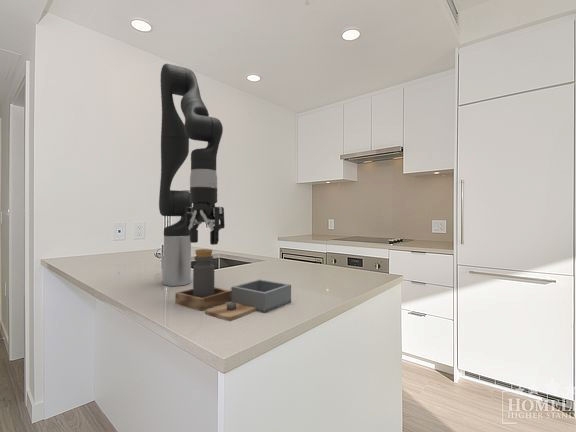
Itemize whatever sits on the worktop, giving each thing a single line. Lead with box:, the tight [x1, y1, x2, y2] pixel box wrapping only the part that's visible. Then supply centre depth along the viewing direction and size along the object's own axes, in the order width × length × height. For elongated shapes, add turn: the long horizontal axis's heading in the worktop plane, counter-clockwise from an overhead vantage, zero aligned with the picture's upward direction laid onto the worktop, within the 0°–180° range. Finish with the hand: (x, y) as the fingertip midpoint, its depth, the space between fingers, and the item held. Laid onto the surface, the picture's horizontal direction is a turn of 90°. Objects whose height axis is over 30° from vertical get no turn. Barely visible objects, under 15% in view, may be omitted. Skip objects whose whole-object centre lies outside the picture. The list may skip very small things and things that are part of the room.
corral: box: [174, 286, 231, 312], centre depth 91 cm, size 11×11×3 cm
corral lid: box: [204, 301, 257, 322], centre depth 82 cm, size 9×10×2 cm
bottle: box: [192, 248, 215, 298], centre depth 91 cm, size 6×6×15 cm
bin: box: [230, 279, 292, 314], centre depth 90 cm, size 12×12×5 cm
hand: (203, 243), depth 90 cm, fingers open, 8 cm apart
